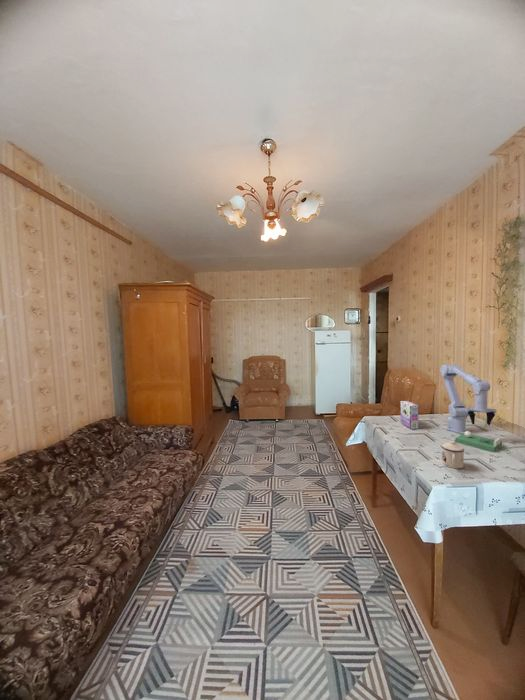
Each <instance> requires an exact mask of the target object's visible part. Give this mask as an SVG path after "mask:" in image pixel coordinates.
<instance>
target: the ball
mask: <svg viewBox="0 0 525 700" xmlns="http://www.w3.org/2000/svg"><path fill="white" fill-rule="evenodd" d="M464 435H465V436H466V437H471V436H472V435H473V433H472V432H470V431H469V430H468V431H466V432H465V433H464Z"/></svg>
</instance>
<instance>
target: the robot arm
mask: <svg viewBox="0 0 525 700" xmlns="http://www.w3.org/2000/svg"><path fill="white" fill-rule="evenodd" d="M439 372H440V374H441V377H442V379H443V382H444V386H445V389H446V392H447V394H448V397H449V401H450V404H449V405H448V407H447V408H448V414H449V416H448V417H447V429H446V431H450V432H454V433H459V434H461V435H462V434H463V433H465V432H466V431H469V430H467V428H466V427H467V420H466V419H468V418H467V417H469V419H470V421H471V424H472V425H475V424H476V423H475V421H476V413H485V414H486V425H487V426H491V423H492V420H493V419H494V418H495V417H496V414H497V409H495V408H488V391H490V389H491V384H490V383H489V382H488V381H487V380H482V379H481V378H478V377H477V376H476V375H475V374H472V373H471V374H469V373H468V372H466V371H465V370H464V369H462V367H461V365H459V364H458V363H455V364H454V363H453V364H442V365H441V366H440V369H439ZM456 376H459V377H461V378H463V379H464V382H465V383H466V384H468V385H469V386H471V387H472V389H473V394H474V407H467V405H466V404H465V403H463V402H462V401H461V398H460V396H459V395H460V394H459V392H458V390H457V387H456V384H455V381H454V378H456Z"/></svg>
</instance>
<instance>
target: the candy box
mask: <svg viewBox="0 0 525 700" xmlns="http://www.w3.org/2000/svg"><path fill="white" fill-rule="evenodd" d="M399 402H400V403H399V404H400V424H401V423H402V425H403V424H404V425H403V426H405V428H407V429H409V430H419V429H420V428H419V404H416V403H414V402H411V401H409V400H400V401H399Z"/></svg>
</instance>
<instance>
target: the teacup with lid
mask: <svg viewBox="0 0 525 700" xmlns="http://www.w3.org/2000/svg"><path fill="white" fill-rule="evenodd" d="M441 448H442V449H441V450H442V451H441V452H442V453H441V455H442V459H441V461H442V464H443V466H446V467H448V468H452V469H462V468H464V460H465V459H464V457H465V456H464V455H465V454H464V451H465V449H464V446H462V445H460V444H459V443H457V442H455V440H450V441H449V442H445V443H442V445H441Z"/></svg>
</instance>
